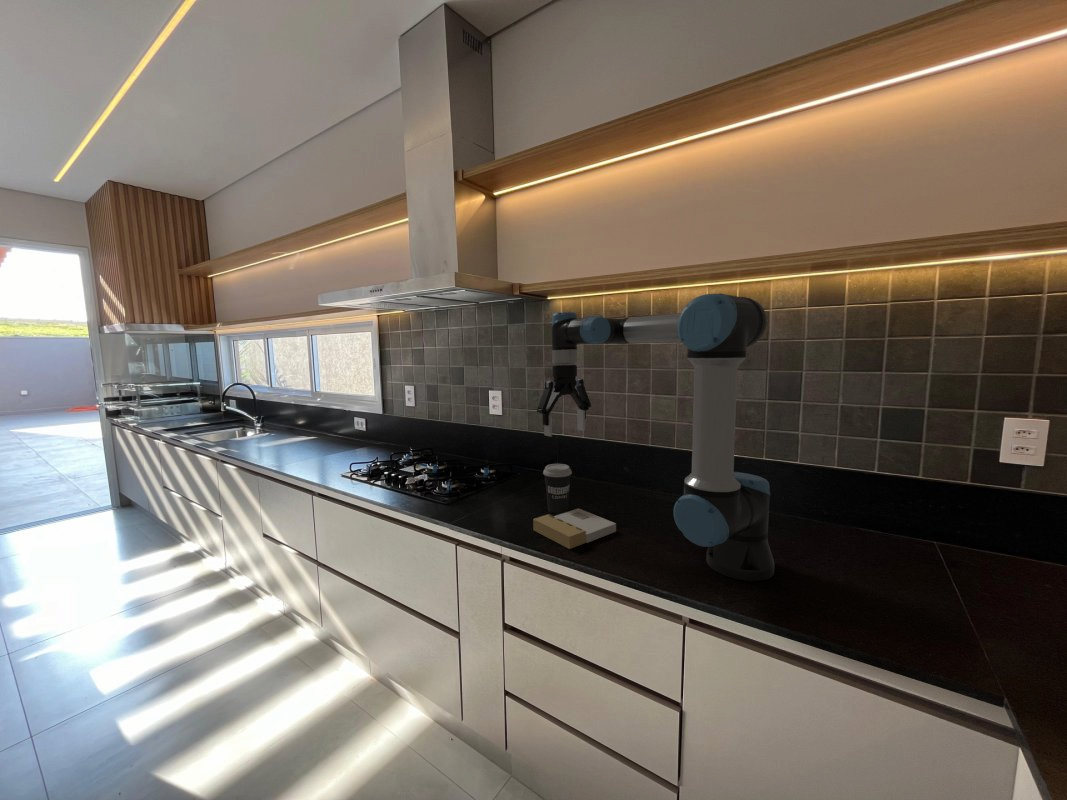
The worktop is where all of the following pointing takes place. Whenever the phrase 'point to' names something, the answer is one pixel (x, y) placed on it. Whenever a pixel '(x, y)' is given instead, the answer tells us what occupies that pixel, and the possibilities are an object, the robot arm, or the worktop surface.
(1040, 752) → the worktop surface
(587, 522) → the flat white box
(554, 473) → the coffee cup
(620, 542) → the worktop surface
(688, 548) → the worktop surface
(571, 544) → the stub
